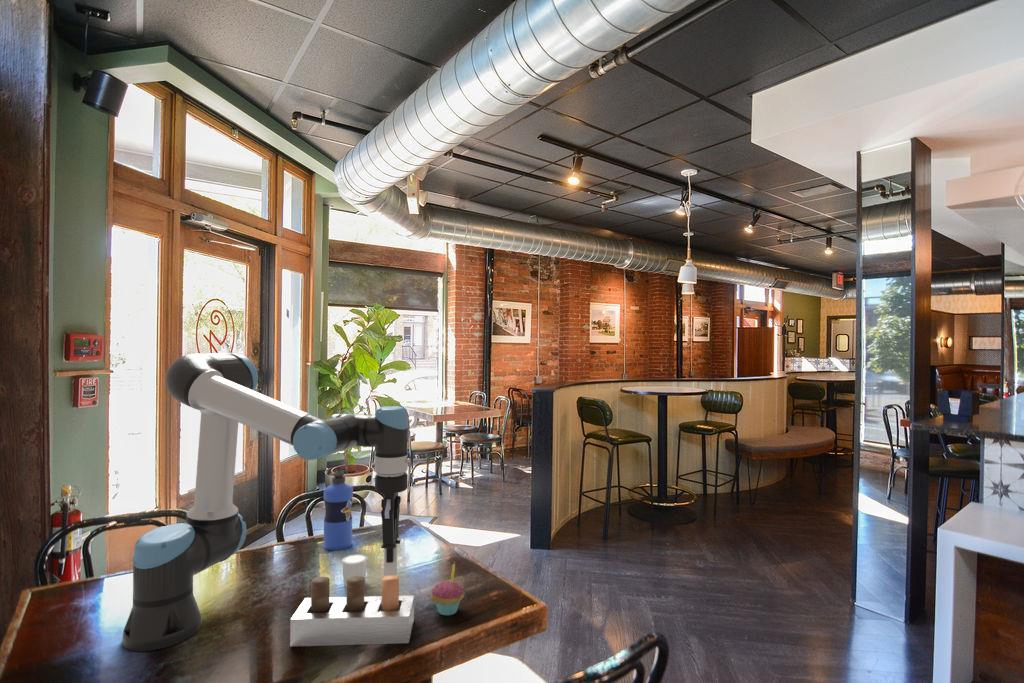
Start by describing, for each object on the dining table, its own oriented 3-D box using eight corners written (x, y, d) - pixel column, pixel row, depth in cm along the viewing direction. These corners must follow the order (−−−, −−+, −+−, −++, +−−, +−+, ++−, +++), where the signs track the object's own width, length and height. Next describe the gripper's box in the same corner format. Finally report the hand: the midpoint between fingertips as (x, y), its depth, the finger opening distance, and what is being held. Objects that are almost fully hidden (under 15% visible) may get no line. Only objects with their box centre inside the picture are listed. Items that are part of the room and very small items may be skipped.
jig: (290, 646, 117) (290, 619, 117) (304, 623, 127) (305, 597, 127) (408, 643, 119) (408, 616, 119) (413, 620, 129) (414, 595, 129)
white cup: (359, 590, 144) (360, 564, 145) (336, 587, 146) (337, 562, 146) (371, 579, 151) (371, 554, 151) (349, 577, 153) (349, 552, 153)
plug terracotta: (379, 613, 121) (380, 582, 122) (382, 605, 125) (383, 575, 126) (397, 613, 122) (397, 582, 122) (399, 604, 126) (400, 575, 126)
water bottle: (317, 549, 173) (318, 473, 173) (331, 539, 182) (332, 466, 182) (344, 551, 171) (345, 474, 172) (357, 541, 180) (358, 468, 181)
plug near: (308, 615, 120) (308, 584, 120) (313, 606, 124) (314, 576, 124) (326, 614, 121) (326, 584, 121) (331, 606, 125) (331, 576, 125)
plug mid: (344, 614, 121) (344, 583, 121) (348, 605, 125) (348, 576, 125) (362, 613, 121) (362, 583, 121) (365, 605, 125) (366, 575, 125)
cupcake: (450, 599, 139) (451, 554, 140) (471, 611, 133) (472, 563, 133) (423, 611, 133) (424, 563, 134) (444, 623, 127) (444, 573, 127)
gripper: (403, 479, 118) (402, 586, 117) (411, 466, 131) (410, 562, 130) (369, 480, 117) (368, 587, 117) (380, 466, 130) (379, 563, 130)
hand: (390, 574), depth 124 cm, fingers closed
